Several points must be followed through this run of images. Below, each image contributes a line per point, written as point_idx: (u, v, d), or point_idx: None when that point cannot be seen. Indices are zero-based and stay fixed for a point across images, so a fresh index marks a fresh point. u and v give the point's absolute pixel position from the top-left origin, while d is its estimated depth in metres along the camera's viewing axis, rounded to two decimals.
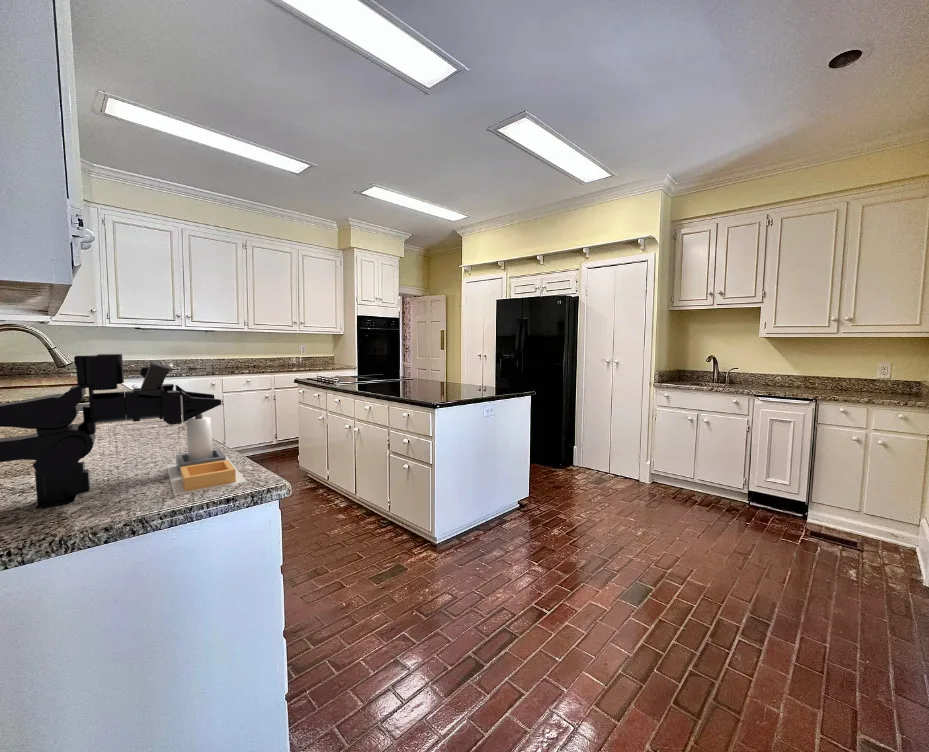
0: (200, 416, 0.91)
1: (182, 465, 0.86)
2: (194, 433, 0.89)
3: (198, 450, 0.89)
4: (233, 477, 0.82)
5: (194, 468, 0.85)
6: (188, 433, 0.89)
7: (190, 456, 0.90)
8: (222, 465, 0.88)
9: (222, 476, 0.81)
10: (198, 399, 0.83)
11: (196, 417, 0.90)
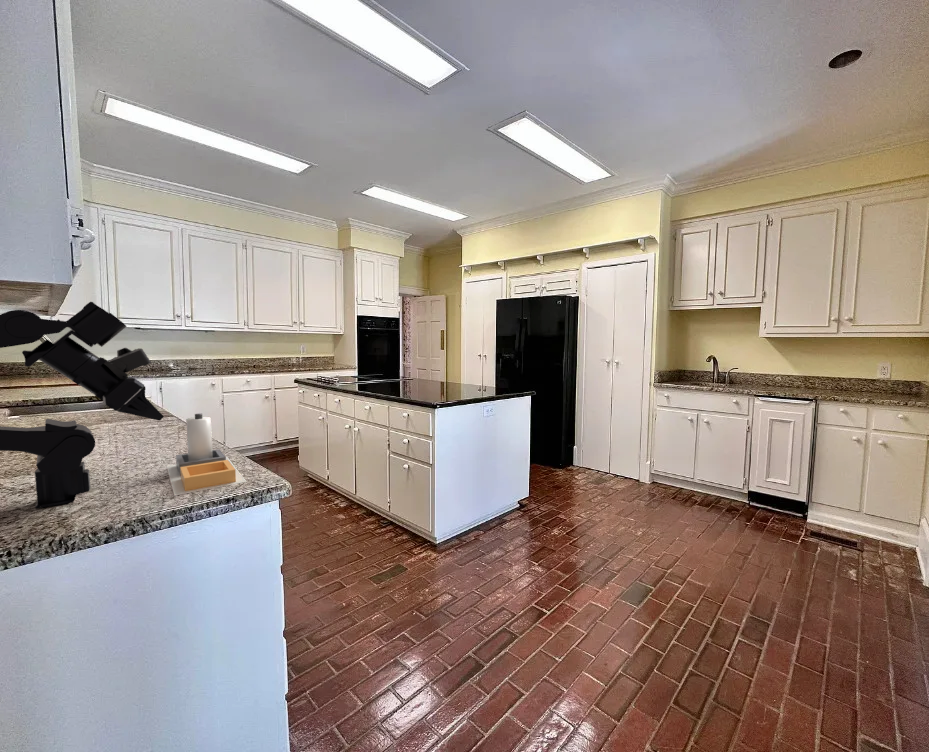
0: (200, 416, 0.91)
1: (182, 465, 0.86)
2: (194, 433, 0.89)
3: (198, 450, 0.89)
4: (233, 477, 0.82)
5: (194, 468, 0.85)
6: (188, 433, 0.89)
7: (190, 456, 0.90)
8: (222, 465, 0.88)
9: (222, 476, 0.81)
10: (148, 402, 0.79)
11: (196, 417, 0.90)
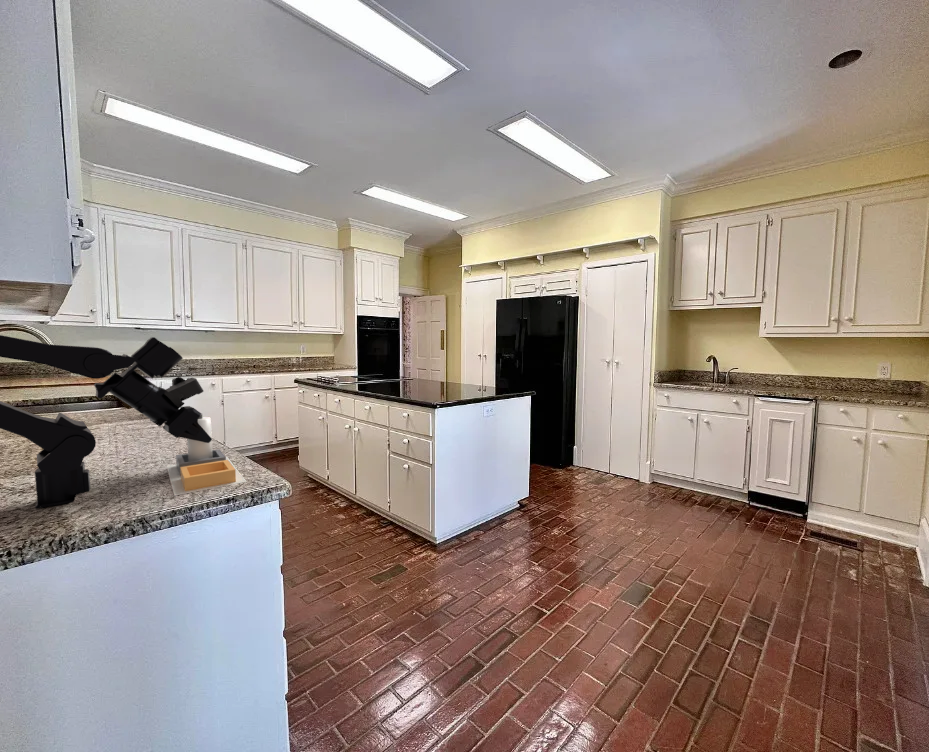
0: (200, 416, 0.91)
1: (182, 465, 0.86)
2: None
3: (198, 450, 0.90)
4: (233, 477, 0.82)
5: (194, 468, 0.85)
6: None
7: (190, 456, 0.90)
8: (222, 465, 0.88)
9: (222, 476, 0.81)
10: (200, 427, 0.88)
11: None
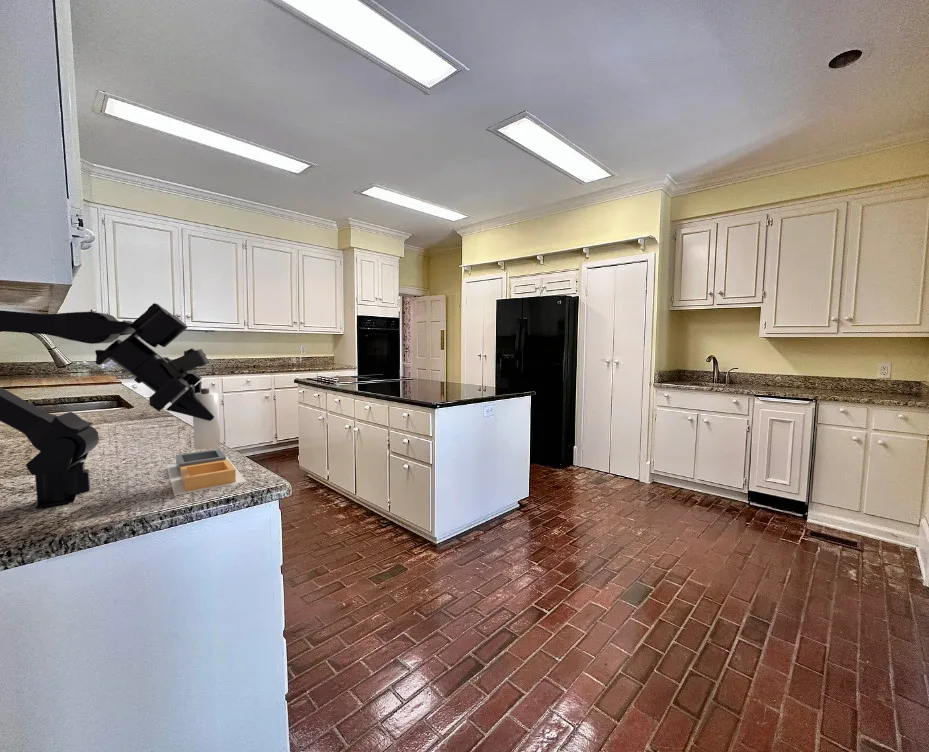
0: (205, 391, 0.83)
1: (182, 465, 0.86)
2: None
3: (200, 428, 0.82)
4: (233, 477, 0.82)
5: (194, 468, 0.85)
6: None
7: (194, 433, 0.83)
8: (222, 465, 0.88)
9: (222, 476, 0.81)
10: (197, 402, 0.80)
11: (201, 392, 0.83)
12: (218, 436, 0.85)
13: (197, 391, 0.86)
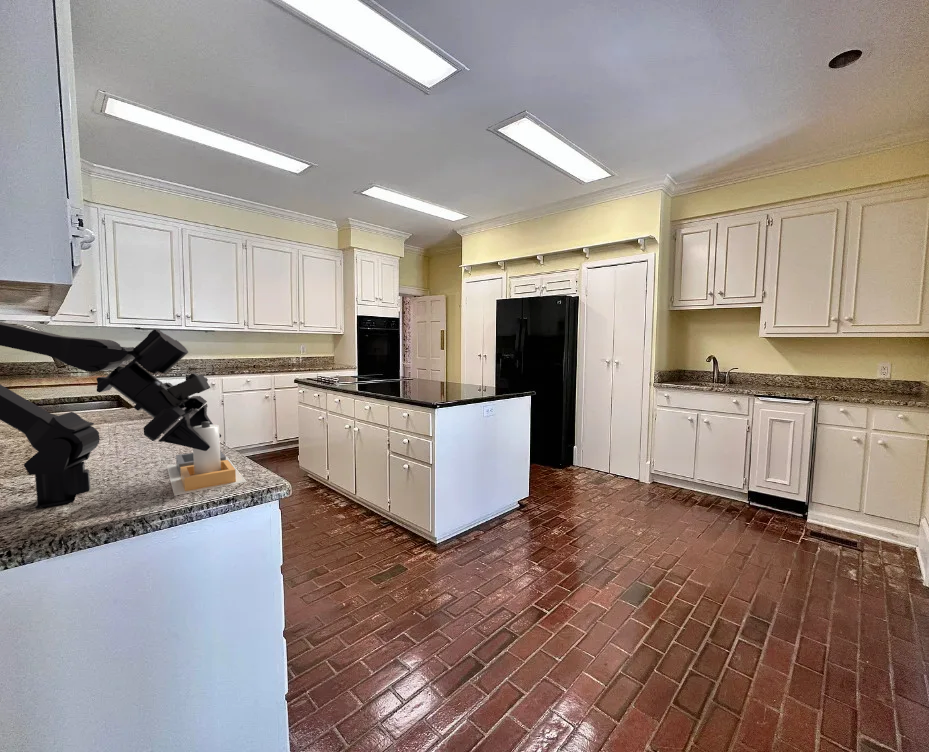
0: (205, 425, 0.82)
1: (182, 465, 0.86)
2: None
3: (199, 462, 0.81)
4: (233, 477, 0.82)
5: None
6: None
7: (194, 468, 0.82)
8: (222, 465, 0.88)
9: (222, 476, 0.81)
10: (191, 432, 0.77)
11: (202, 425, 0.82)
12: (218, 470, 0.83)
13: (202, 414, 0.86)
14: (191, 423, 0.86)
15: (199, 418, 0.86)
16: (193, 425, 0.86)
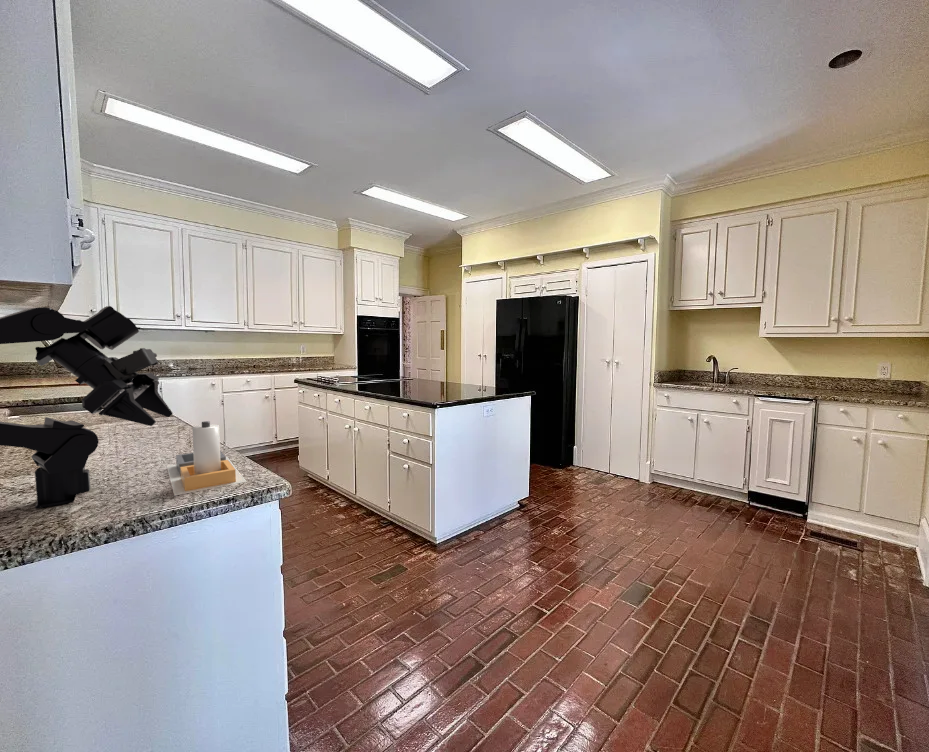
0: (206, 424, 0.82)
1: (182, 465, 0.86)
2: (195, 443, 0.81)
3: (199, 462, 0.81)
4: (233, 477, 0.82)
5: None
6: (193, 442, 0.82)
7: (194, 468, 0.82)
8: (222, 465, 0.88)
9: (222, 476, 0.81)
10: (135, 406, 0.75)
11: (202, 425, 0.82)
12: (218, 470, 0.83)
13: (152, 391, 0.85)
14: (141, 400, 0.84)
15: (149, 395, 0.85)
16: (143, 402, 0.85)
